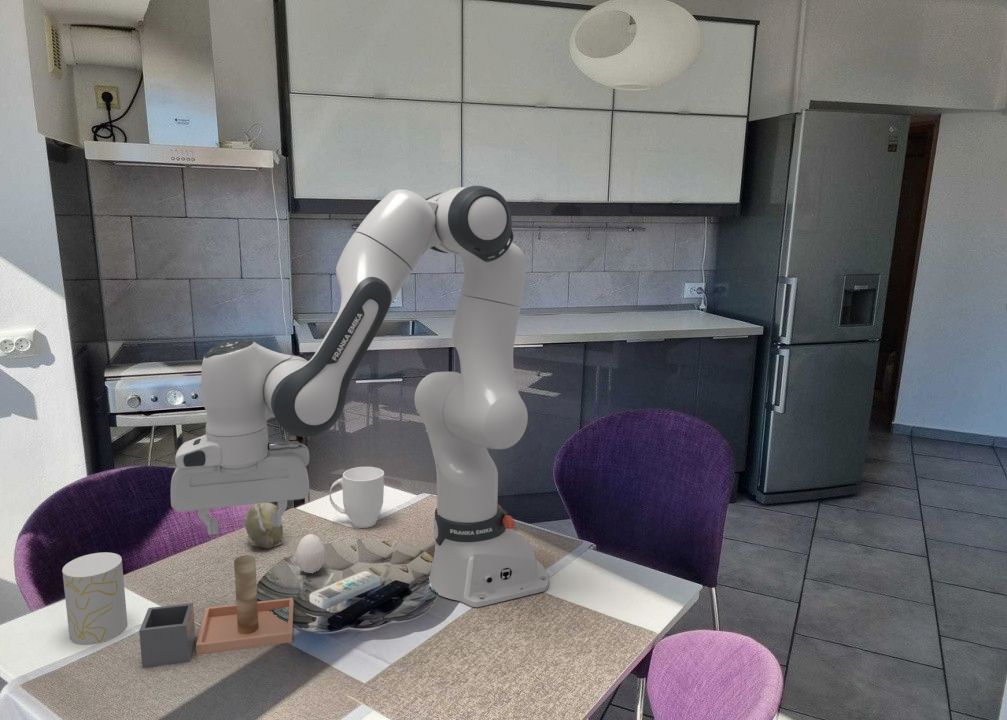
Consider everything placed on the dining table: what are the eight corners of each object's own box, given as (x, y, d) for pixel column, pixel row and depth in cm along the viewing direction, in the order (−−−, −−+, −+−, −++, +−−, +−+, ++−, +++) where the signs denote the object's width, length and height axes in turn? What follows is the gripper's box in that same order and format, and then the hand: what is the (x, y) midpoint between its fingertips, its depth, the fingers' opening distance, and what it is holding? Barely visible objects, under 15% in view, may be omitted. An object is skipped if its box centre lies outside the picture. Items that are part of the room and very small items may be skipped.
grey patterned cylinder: (62, 651, 110) (54, 579, 107) (78, 622, 117) (71, 555, 115) (121, 644, 112) (114, 573, 109) (132, 616, 119) (127, 550, 117)
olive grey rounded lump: (264, 563, 143) (255, 527, 138) (235, 547, 147) (226, 511, 142) (298, 534, 150) (291, 499, 145) (270, 519, 154) (262, 484, 149)
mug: (385, 514, 162) (385, 465, 159) (383, 532, 154) (382, 480, 151) (333, 515, 161) (332, 465, 158) (327, 533, 152) (326, 481, 150)
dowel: (259, 621, 118) (256, 554, 115) (257, 632, 115) (254, 563, 112) (238, 624, 117) (235, 556, 114) (236, 635, 114) (233, 565, 111)
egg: (308, 582, 132) (307, 543, 130) (290, 573, 135) (289, 535, 133) (331, 571, 136) (330, 534, 134) (313, 563, 139) (312, 526, 138)
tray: (293, 608, 123) (293, 597, 122) (292, 645, 112) (291, 633, 112) (206, 618, 119) (205, 607, 119) (196, 657, 109) (196, 645, 108)
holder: (195, 640, 113) (193, 602, 112) (189, 665, 107) (186, 625, 106) (151, 646, 111) (148, 607, 110) (142, 671, 105) (139, 630, 104)
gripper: (308, 433, 115) (313, 513, 118) (171, 445, 110) (180, 528, 113) (308, 446, 109) (313, 529, 112) (163, 458, 104) (173, 546, 107)
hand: (245, 529), depth 112 cm, fingers open, 8 cm apart
